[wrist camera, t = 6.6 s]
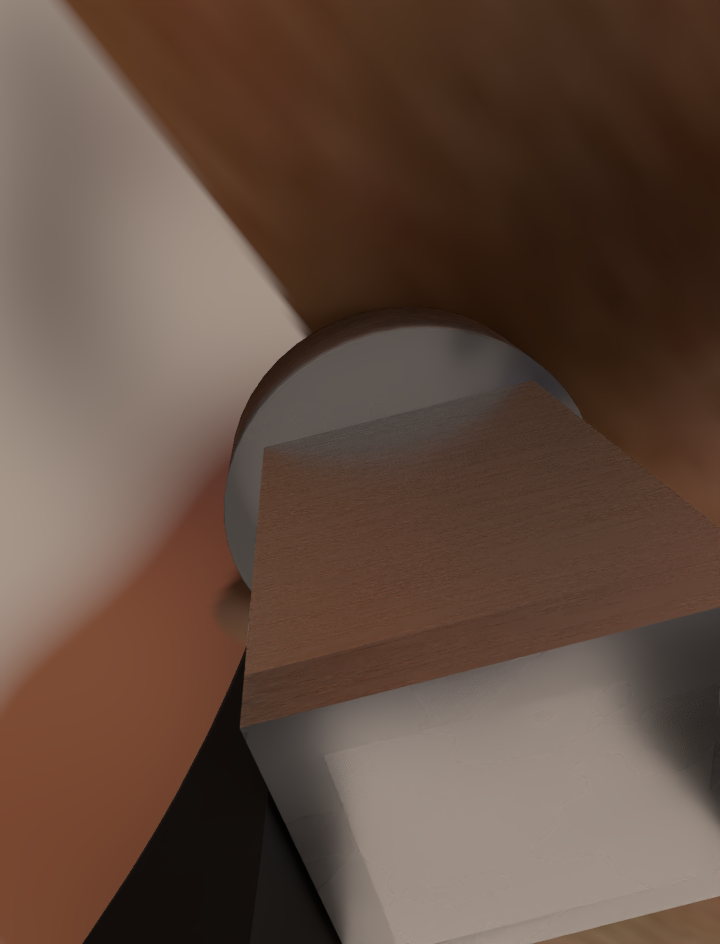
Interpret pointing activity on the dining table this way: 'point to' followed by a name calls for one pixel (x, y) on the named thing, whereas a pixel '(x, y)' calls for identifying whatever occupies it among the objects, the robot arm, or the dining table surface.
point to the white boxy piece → (485, 674)
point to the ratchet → (364, 391)
